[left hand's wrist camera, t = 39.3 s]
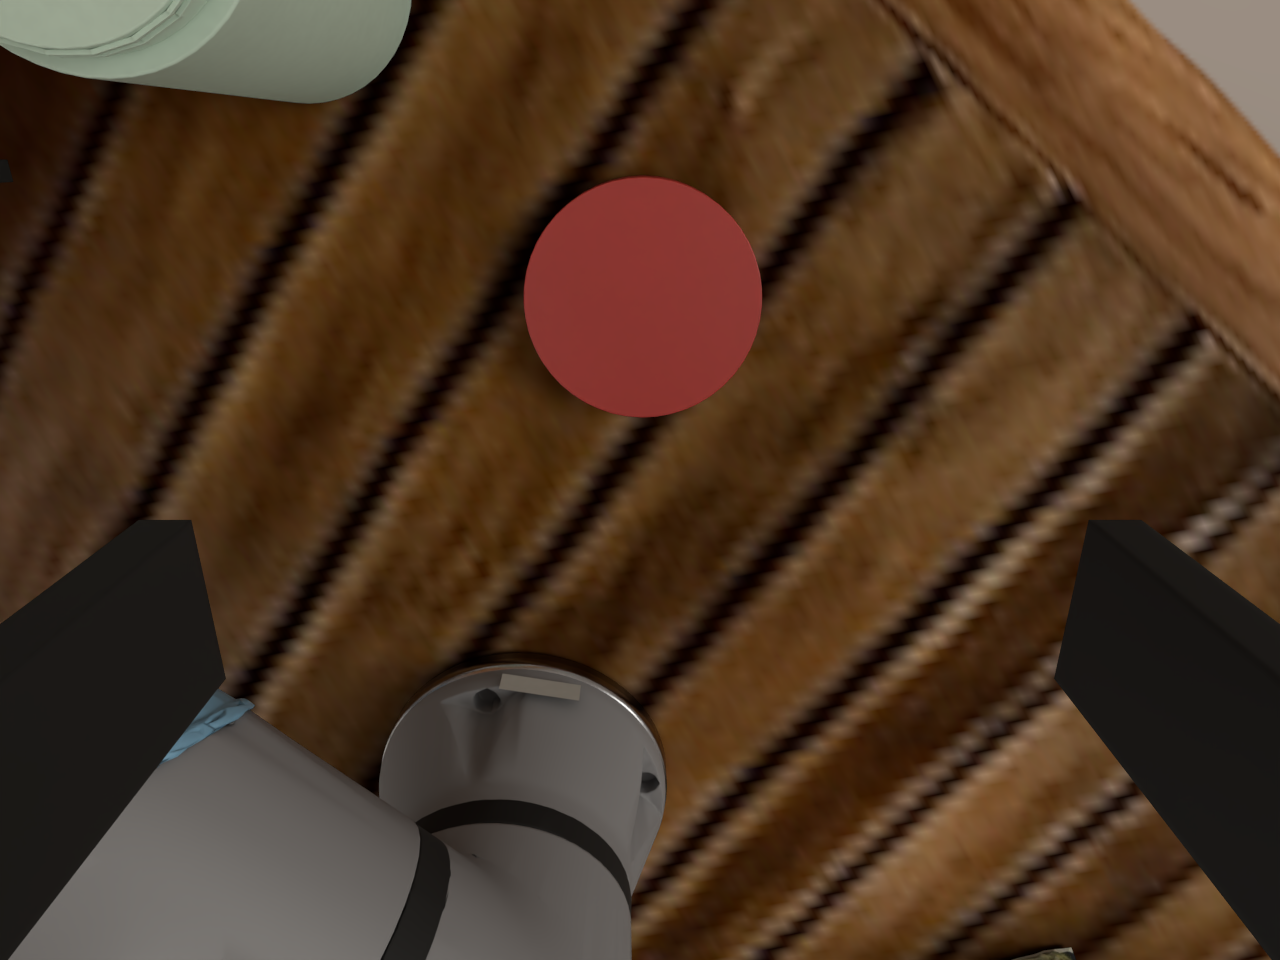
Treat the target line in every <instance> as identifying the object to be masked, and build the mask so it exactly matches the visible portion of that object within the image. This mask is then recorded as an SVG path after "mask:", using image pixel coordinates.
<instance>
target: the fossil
mask: <svg viewBox="0 0 1280 960" xmlns="http://www.w3.org/2000/svg"><path fill="white" fill-rule="evenodd" d="M1013 960H1076V958H1075V956H1074V953H1073V951H1072V948H1062V949H1052V950H1045V951H1042V952H1039V953H1036V954H1033V955H1029V956H1024V957H1020V958H1016V959H1013Z"/></svg>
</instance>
